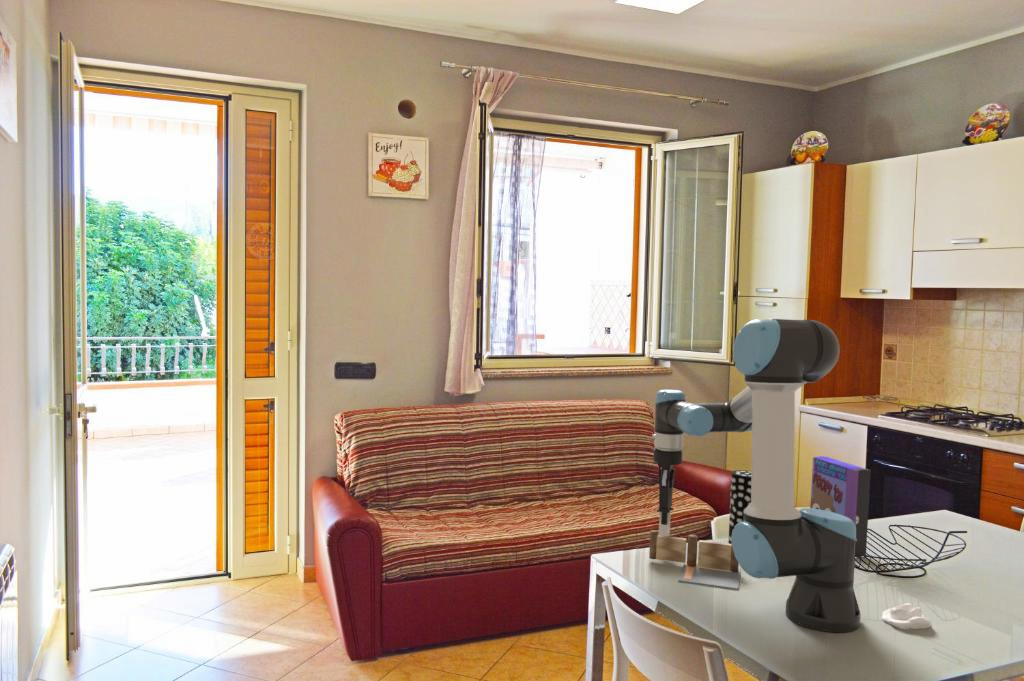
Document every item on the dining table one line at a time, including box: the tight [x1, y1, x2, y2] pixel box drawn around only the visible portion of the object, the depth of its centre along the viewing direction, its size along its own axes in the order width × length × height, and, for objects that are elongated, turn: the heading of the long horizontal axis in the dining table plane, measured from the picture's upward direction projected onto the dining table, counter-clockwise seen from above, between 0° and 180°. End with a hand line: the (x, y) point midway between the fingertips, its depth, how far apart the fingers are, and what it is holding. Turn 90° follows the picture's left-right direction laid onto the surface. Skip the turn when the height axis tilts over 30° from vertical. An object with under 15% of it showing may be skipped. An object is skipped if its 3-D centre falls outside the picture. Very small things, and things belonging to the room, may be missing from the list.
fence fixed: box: [686, 534, 740, 572], centre depth 200 cm, size 13×2×8 cm, turn 72°
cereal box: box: [809, 455, 872, 558], centre depth 221 cm, size 17×5×24 cm, turn 17°
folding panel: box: [648, 529, 688, 564], centre depth 204 cm, size 9×2×7 cm, turn 72°
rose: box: [881, 602, 932, 630], centre depth 171 cm, size 10×4×10 cm
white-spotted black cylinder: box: [728, 469, 751, 544], centre depth 222 cm, size 8×8×20 cm
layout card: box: [677, 561, 742, 591], centre depth 196 cm, size 14×14×1 cm
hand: (664, 535), depth 212 cm, fingers closed
